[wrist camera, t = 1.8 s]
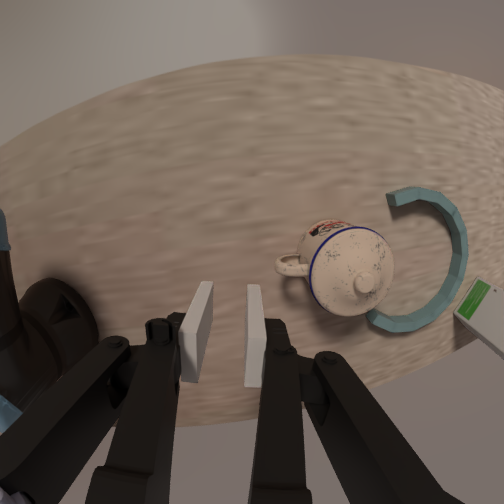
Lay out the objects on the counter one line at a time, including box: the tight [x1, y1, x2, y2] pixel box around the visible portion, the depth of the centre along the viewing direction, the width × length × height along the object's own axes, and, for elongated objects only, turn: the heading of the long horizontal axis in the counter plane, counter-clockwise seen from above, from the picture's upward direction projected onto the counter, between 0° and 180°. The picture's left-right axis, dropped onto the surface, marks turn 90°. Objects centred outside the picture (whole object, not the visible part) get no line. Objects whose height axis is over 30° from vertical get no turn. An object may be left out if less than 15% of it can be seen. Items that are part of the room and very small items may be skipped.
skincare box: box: [453, 276, 504, 360], centre depth 29 cm, size 8×7×16 cm
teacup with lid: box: [275, 219, 394, 317], centre depth 28 cm, size 12×9×12 cm
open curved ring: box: [366, 187, 469, 333], centre depth 33 cm, size 16×20×2 cm
